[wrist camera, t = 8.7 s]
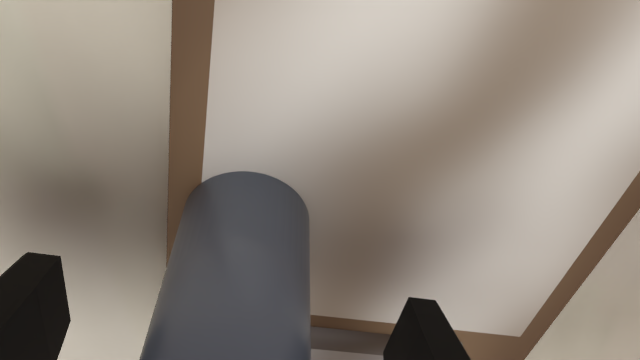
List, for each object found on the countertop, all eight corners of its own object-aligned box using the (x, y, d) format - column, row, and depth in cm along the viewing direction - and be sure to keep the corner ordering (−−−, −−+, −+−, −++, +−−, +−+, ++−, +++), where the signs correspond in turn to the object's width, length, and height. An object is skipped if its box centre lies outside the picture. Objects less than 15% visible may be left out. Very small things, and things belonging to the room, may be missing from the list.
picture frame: (883, -142, 9) (954, -136, 8) (504, 370, 18) (515, 401, 17) (185, -339, 7) (167, -359, 6) (167, 338, 16) (158, 371, 16)
